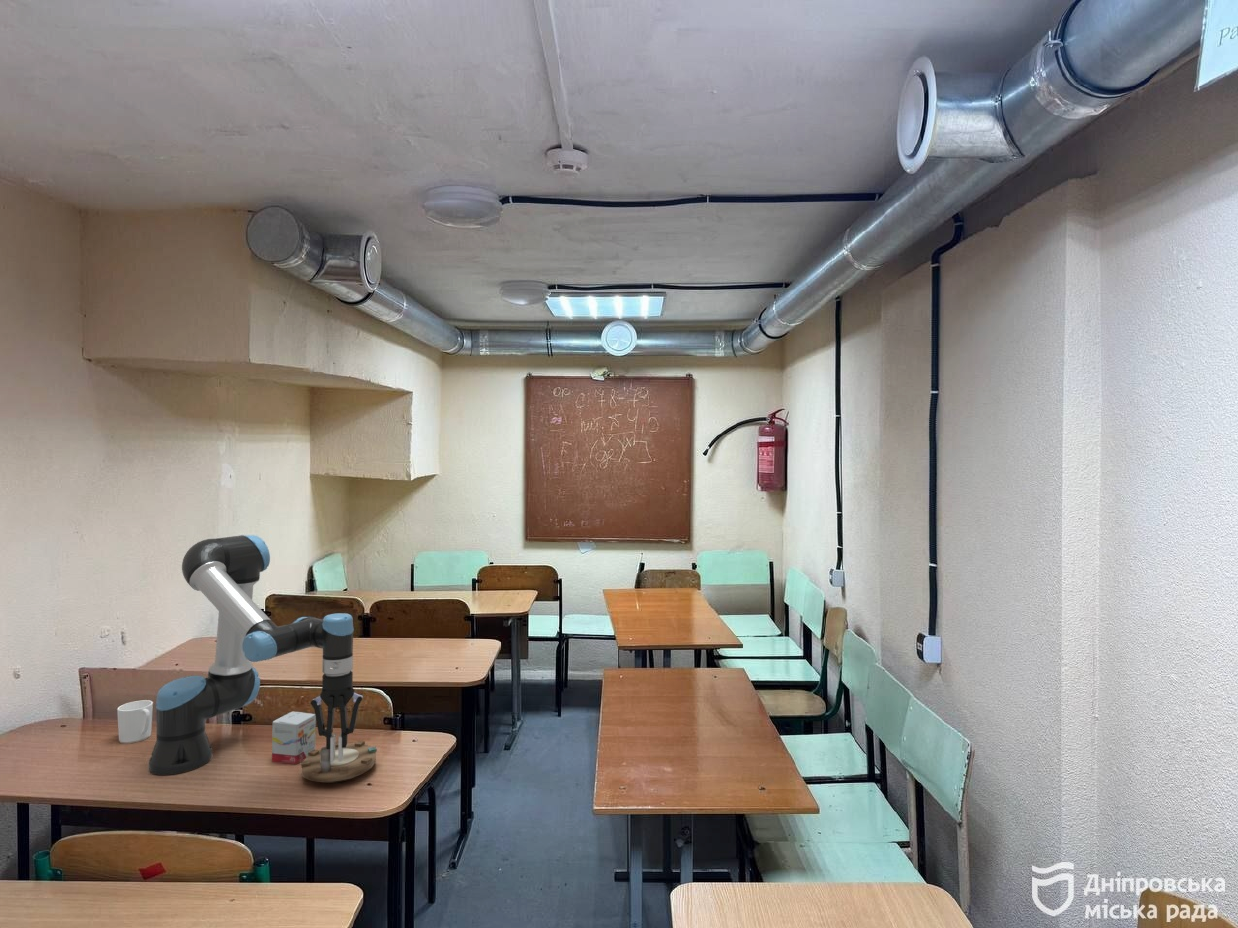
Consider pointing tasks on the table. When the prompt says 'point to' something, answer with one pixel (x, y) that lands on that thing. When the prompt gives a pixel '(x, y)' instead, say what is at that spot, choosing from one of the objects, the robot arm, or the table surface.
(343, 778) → the turntable
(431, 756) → the table surface
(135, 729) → the mug
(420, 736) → the table surface
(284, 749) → the ink box
